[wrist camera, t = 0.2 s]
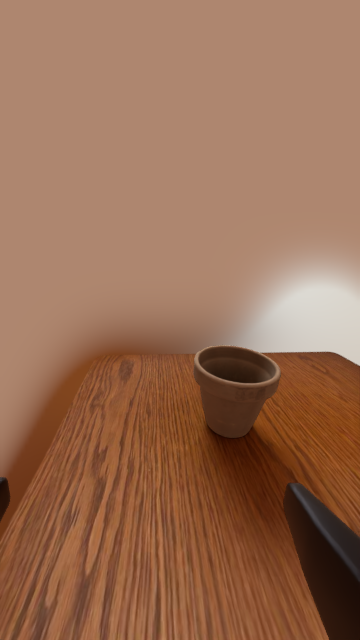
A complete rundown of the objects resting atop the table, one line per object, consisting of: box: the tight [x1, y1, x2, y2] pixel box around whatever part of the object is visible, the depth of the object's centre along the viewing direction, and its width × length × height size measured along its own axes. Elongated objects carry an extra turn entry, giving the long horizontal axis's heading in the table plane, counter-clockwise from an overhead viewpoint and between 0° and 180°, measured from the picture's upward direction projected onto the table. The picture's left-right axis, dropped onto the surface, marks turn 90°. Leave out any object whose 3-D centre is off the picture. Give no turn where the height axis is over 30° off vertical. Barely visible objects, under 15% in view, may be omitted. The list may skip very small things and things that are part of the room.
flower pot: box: [194, 346, 281, 438], centre depth 32 cm, size 12×11×10 cm
